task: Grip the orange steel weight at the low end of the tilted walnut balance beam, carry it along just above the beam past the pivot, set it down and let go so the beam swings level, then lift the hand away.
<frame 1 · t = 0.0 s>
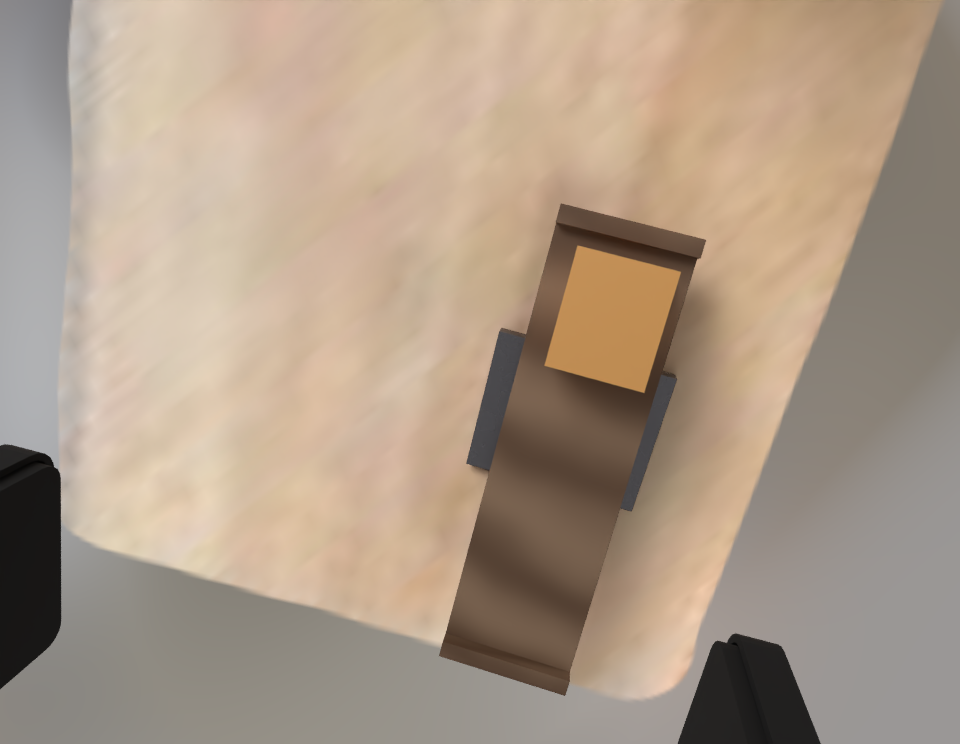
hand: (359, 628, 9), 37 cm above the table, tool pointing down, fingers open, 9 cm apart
stand: (567, 418, 47), on the table
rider: (604, 312, 39), point 6 cm above the table, tilted 8°, touching beam
beam: (563, 456, 40), point 7 cm above the table, hinge at -7.9°, touching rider
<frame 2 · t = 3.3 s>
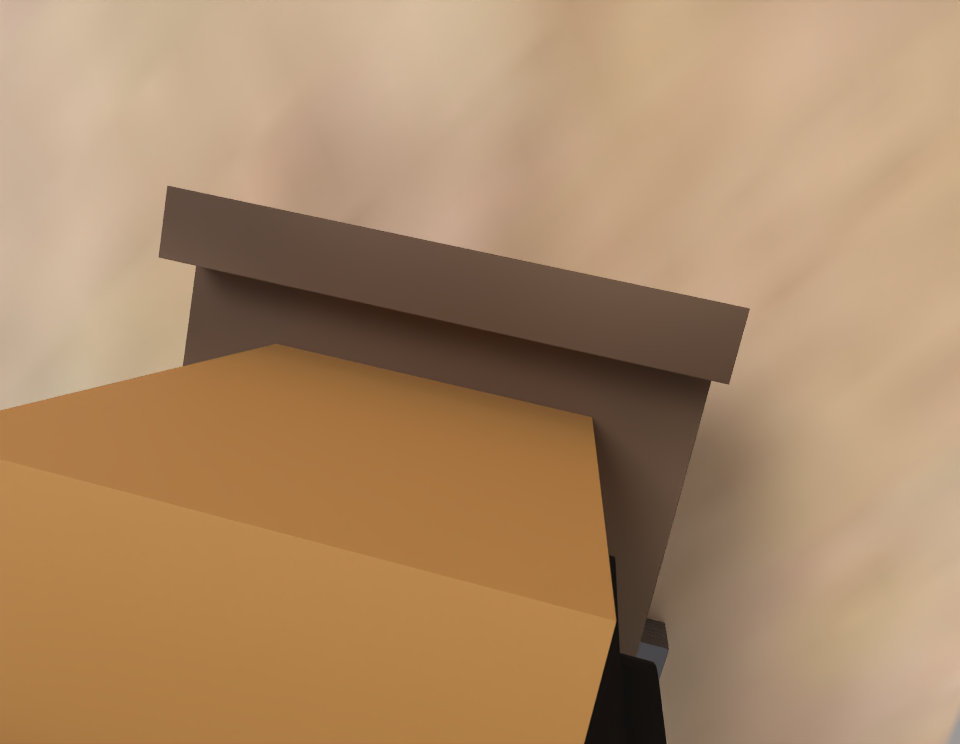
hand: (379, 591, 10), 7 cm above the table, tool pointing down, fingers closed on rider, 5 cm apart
stand: (410, 712, 20), on the table
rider: (394, 560, 11), point 6 cm above the table, tilted 8°, touching beam, gripper
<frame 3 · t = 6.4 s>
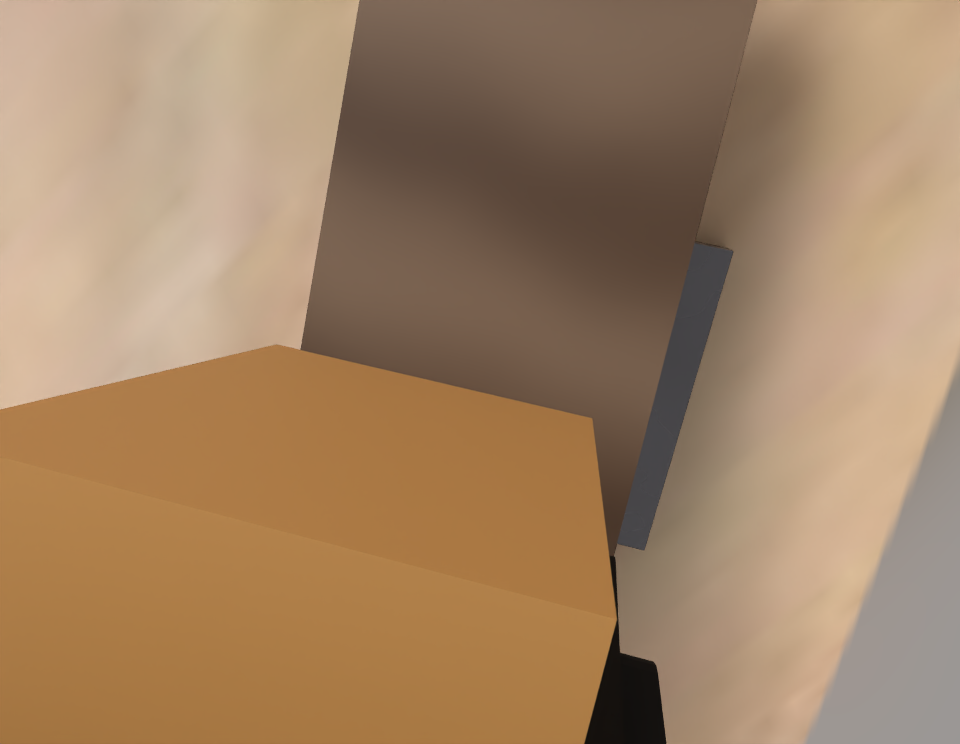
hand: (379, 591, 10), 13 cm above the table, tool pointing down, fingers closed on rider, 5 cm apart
stand: (501, 360, 23), on the table
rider: (394, 561, 11), point 12 cm above the table, tilted 7°, touching gripper
beam: (461, 430, 16), point 7 cm above the table, hinge at -7.8°
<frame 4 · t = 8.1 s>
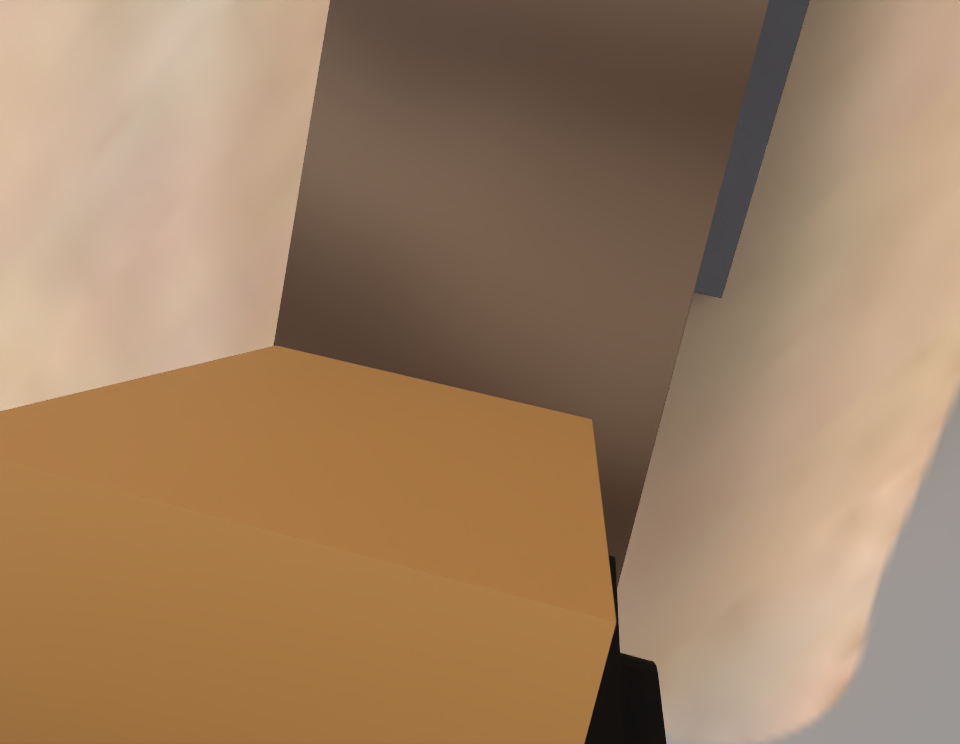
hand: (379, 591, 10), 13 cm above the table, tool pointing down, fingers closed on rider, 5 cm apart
stand: (557, 82, 20), on the table
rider: (394, 562, 11), point 12 cm above the table, tilted 7°, touching gripper
beam: (539, 16, 13), point 7 cm above the table, hinge at -7.8°
when the fingers open (10 cm above the table, at t = 9.6 s): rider stays where it is, resting on beam.
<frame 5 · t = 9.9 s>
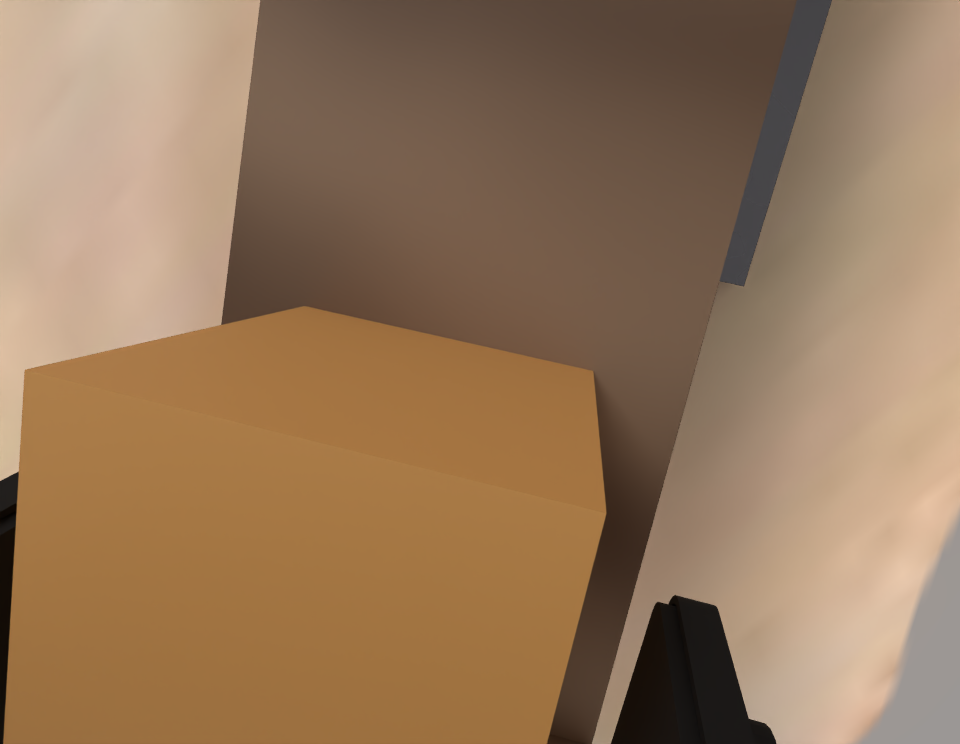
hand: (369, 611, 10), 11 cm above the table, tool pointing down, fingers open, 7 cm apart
stand: (555, 37, 17), on the table
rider: (414, 502, 12), point 8 cm above the table, tilted 5°, touching beam
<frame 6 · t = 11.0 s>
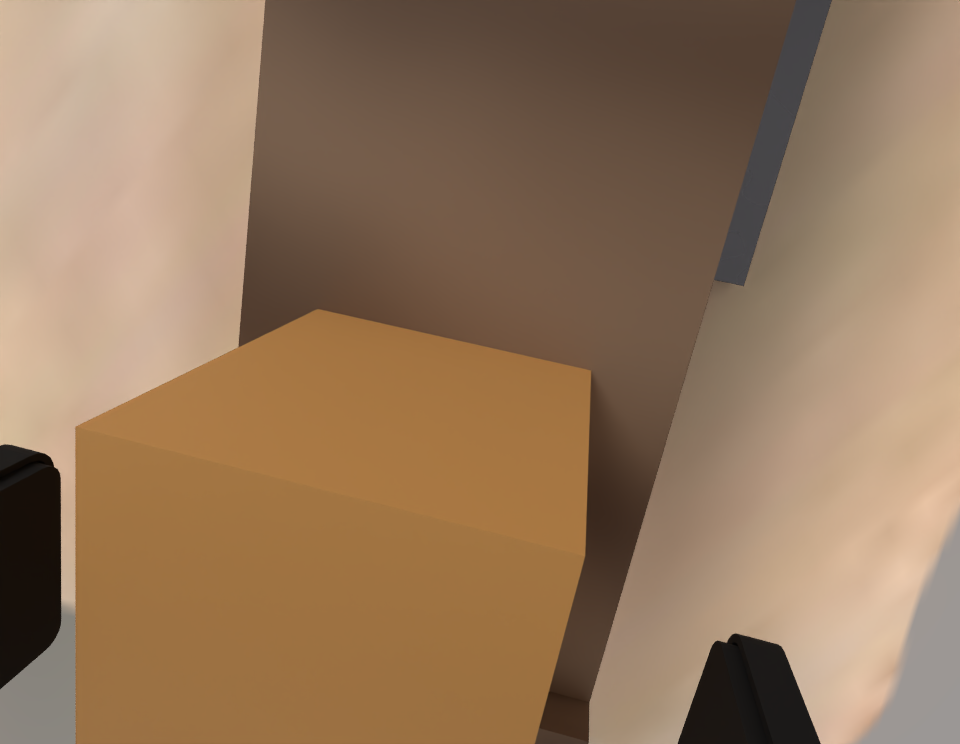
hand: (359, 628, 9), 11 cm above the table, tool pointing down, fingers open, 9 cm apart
stand: (555, 37, 17), on the table
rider: (424, 488, 13), point 7 cm above the table, touching beam
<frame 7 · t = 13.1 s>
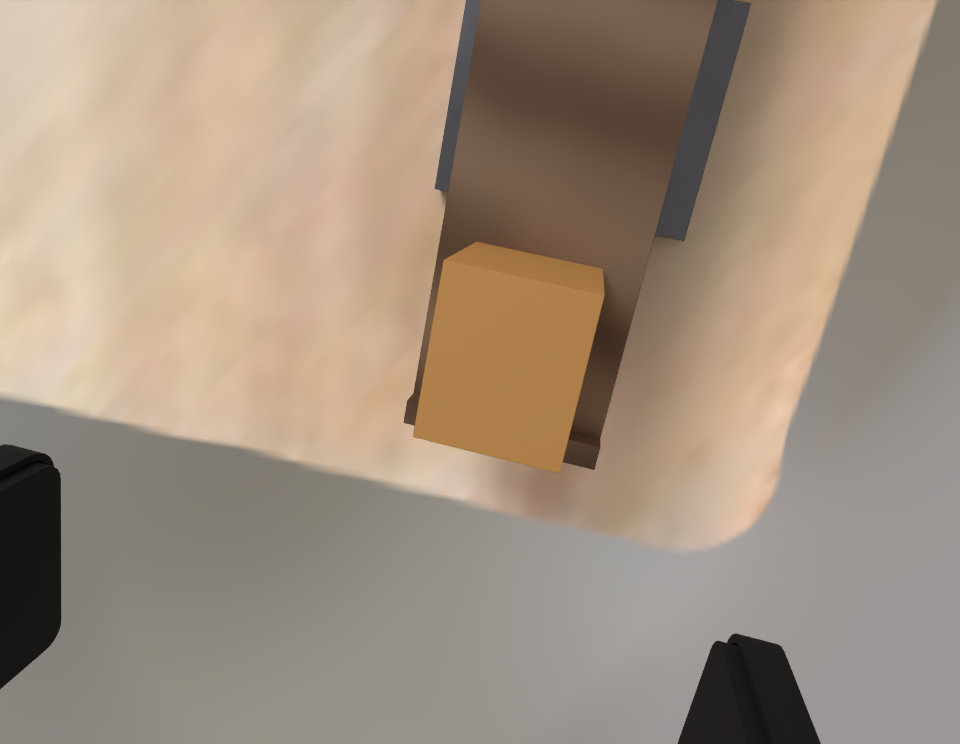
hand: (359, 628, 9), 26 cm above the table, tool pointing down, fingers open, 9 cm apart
stand: (582, 104, 31), on the table
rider: (523, 329, 27), point 7 cm above the table, touching beam
beam: (578, 84, 25), point 7 cm above the table, hinge at 0.2°, touching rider
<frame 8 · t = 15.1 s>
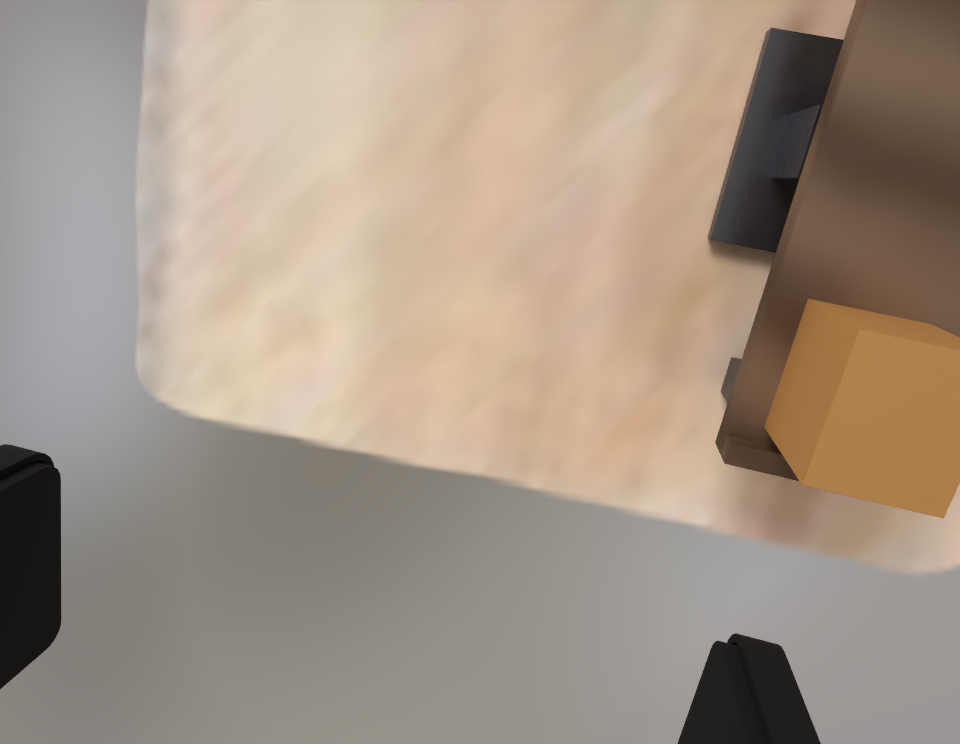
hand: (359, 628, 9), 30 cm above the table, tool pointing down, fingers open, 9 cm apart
stand: (857, 162, 34), on the table
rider: (843, 377, 29), point 7 cm above the table, touching beam
beam: (923, 158, 27), point 7 cm above the table, hinge at 0.2°, touching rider
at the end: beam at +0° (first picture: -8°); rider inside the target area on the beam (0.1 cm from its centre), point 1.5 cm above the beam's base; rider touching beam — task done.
